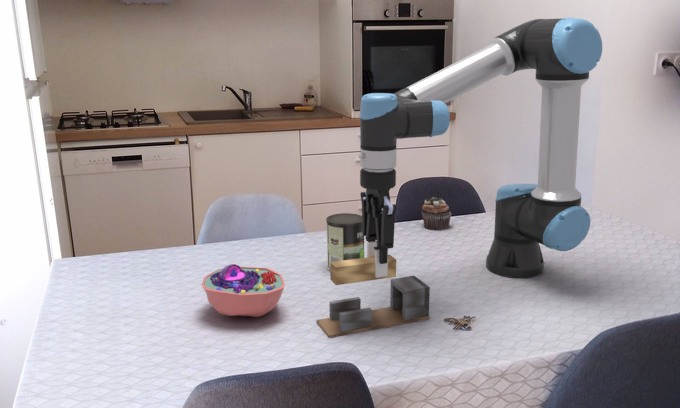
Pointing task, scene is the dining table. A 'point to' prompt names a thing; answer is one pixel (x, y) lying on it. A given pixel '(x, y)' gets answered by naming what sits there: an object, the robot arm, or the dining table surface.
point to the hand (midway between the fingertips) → (377, 272)
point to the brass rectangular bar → (358, 270)
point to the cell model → (243, 290)
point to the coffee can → (344, 237)
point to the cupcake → (436, 214)
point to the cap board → (379, 310)
